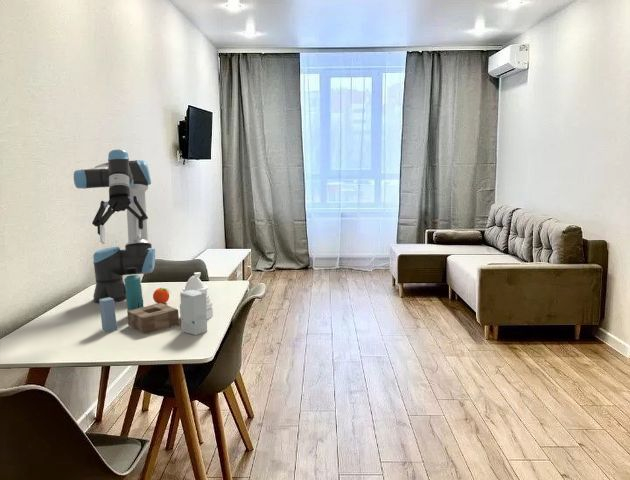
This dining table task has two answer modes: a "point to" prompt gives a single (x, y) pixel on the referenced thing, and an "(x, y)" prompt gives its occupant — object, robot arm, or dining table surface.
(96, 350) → the dining table surface
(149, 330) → the socket block
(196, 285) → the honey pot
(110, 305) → the peg
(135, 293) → the beverage bottle
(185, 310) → the skincare box
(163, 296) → the red tomato
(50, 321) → the dining table surface
